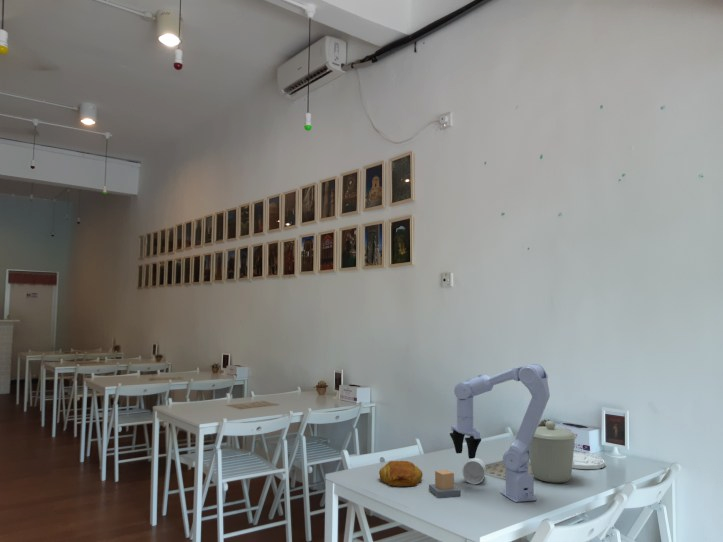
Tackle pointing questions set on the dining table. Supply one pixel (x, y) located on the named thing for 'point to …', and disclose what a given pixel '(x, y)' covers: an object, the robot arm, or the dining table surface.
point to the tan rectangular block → (444, 479)
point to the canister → (552, 453)
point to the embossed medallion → (587, 461)
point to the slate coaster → (444, 491)
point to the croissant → (400, 473)
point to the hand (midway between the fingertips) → (465, 455)
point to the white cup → (474, 471)
